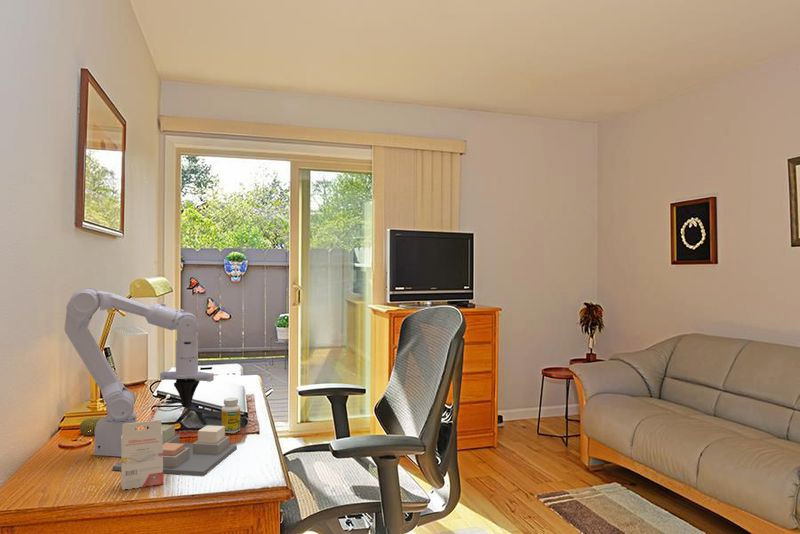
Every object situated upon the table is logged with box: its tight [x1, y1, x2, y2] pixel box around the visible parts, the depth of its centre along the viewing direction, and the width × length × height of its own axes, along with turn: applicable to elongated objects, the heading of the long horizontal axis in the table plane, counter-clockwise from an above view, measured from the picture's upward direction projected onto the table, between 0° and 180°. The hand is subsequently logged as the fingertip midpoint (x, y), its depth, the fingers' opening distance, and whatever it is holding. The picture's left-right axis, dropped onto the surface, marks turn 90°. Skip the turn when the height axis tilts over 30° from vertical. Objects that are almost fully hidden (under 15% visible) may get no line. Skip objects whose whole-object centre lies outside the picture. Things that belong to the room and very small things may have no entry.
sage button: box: [161, 423, 176, 443], centre depth 148 cm, size 5×5×4 cm
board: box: [112, 434, 238, 477], centre depth 143 cm, size 23×19×4 cm
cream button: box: [197, 424, 226, 444], centre depth 147 cm, size 5×5×4 cm
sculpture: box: [79, 416, 104, 436], centre depth 164 cm, size 8×4×8 cm
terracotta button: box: [163, 443, 185, 456], centre depth 138 cm, size 5×5×4 cm
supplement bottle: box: [221, 397, 241, 434], centre depth 166 cm, size 5×5×10 cm
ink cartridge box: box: [120, 419, 164, 491], centre depth 127 cm, size 9×5×15 cm, turn 114°
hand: (186, 406), depth 154 cm, fingers closed
